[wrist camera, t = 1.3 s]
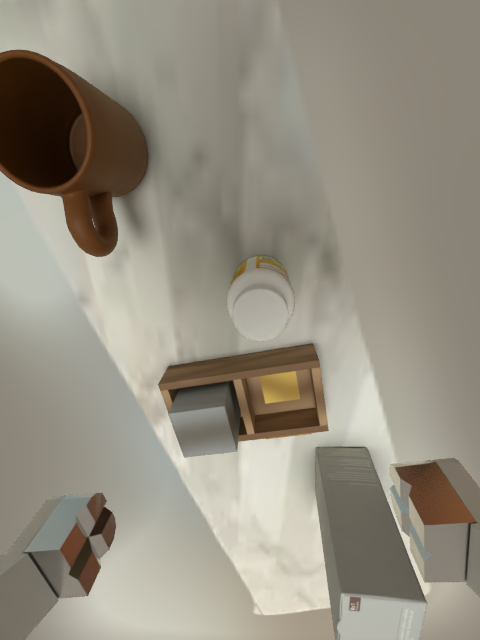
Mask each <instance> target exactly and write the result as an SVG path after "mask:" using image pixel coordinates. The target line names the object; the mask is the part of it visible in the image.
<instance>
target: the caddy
mask: <svg viewBox="0 0 480 640" xmlns="http://www.w3.org/2000/svg"><path fill="white" fill-rule="evenodd" d="M158 385H159V388H160V391H161V394H162V396H163V399H164V402H165V405H166V407H167V410H168V415H169V417H170V420H171V423H172V426H173V428H174V431H175V434H176V437H177V439H178V442H179V445H180V447H181V450H182V453H183V456H184V457H193V456H202V455H211V454H220V453H229V452H237V447H238V441H247V440H255V439H264V438H265V439H271V438H279V437H288V436H296V435H305V434H311V433H315V432H323V431H329V430H328V423H327V416H326V408H325V401H324V394H323V386H322V379H321V372H320V364H319V359H318V356H317V354H316V351H315V348H314V345H313V344H307V345H301V346H295V347H289V348H282V349H276V350H270V351H263V352H257V353H251V354H245V355H238V356H232V357H226V358H219V359H213V360H207V361H201V362H194V363H188V364H182V365H175V366H169V367H168V368H167V370H166V372H165V373H164V375H163V377H162V379H161V380H160V382H159V384H158Z"/></svg>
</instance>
